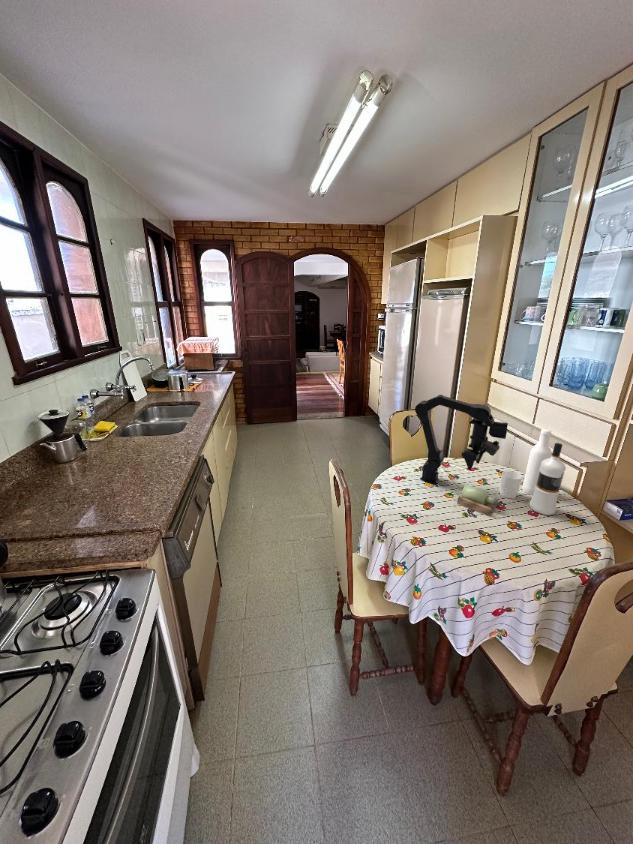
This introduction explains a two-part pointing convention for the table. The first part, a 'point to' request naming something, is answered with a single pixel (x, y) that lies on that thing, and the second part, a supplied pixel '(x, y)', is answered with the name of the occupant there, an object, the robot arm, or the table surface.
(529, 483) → the bottle
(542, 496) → the vodka
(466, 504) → the rest
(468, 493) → the bottle
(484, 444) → the robot arm
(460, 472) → the table surface
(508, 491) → the white cup
